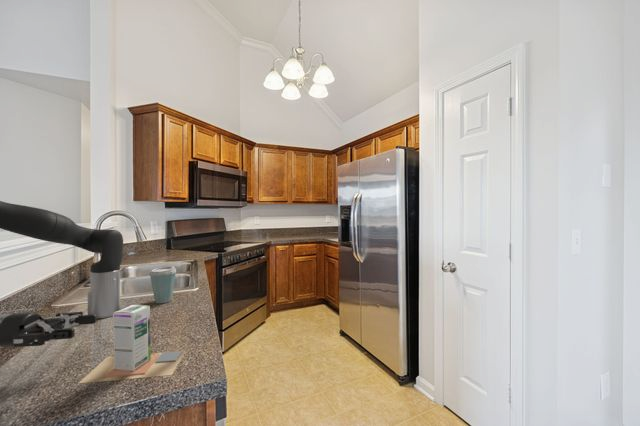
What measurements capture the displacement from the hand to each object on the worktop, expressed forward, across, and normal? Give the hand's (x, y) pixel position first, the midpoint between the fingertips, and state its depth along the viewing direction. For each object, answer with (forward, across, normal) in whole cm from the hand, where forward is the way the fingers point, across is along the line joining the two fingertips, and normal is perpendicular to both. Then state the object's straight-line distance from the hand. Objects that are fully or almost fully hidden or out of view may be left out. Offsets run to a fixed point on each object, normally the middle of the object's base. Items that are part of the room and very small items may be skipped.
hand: (85, 325), depth 70 cm
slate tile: (+18, +3, +11) cm, 22 cm away
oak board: (+12, 0, +12) cm, 17 cm away
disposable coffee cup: (-2, +58, +13) cm, 59 cm away
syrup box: (+11, 0, +11) cm, 15 cm away
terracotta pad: (+11, 0, +11) cm, 16 cm away
